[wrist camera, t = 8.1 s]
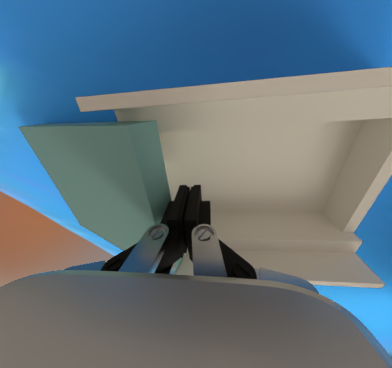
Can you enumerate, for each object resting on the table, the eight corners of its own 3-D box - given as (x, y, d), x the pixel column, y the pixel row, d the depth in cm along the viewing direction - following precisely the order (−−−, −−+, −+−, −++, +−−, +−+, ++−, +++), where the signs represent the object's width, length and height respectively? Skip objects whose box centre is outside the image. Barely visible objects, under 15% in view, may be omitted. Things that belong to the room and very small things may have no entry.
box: (384, 78, 11) (646, 41, 5) (318, 220, 19) (381, 288, 12) (142, 100, 13) (74, 97, 7) (168, 219, 21) (148, 276, 14)
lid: (156, 120, 8) (127, 125, 7) (182, 260, 14) (170, 278, 13) (44, 123, 15) (18, 126, 14) (94, 216, 22) (80, 225, 20)
